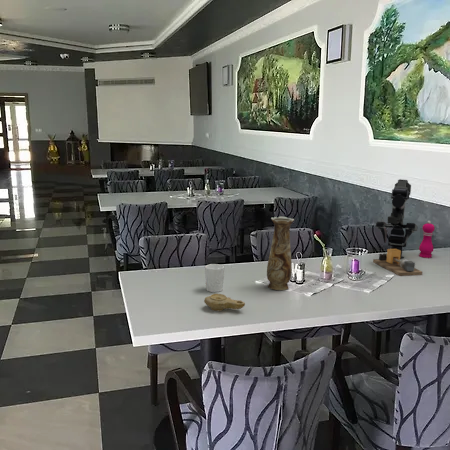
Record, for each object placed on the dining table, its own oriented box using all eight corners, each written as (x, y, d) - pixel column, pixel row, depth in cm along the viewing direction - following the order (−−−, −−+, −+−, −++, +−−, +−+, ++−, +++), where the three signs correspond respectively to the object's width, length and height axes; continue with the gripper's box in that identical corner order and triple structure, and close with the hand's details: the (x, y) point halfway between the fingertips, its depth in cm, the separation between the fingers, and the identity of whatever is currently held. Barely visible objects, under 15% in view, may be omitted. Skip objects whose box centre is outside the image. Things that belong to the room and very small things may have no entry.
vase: (261, 286, 207) (264, 218, 201) (276, 281, 215) (279, 215, 209) (281, 292, 200) (284, 221, 194) (295, 287, 208) (299, 218, 202)
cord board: (373, 262, 250) (374, 250, 249) (393, 261, 253) (394, 249, 251) (399, 276, 227) (400, 263, 226) (422, 274, 230) (423, 262, 228)
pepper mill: (415, 255, 265) (419, 219, 261) (425, 254, 268) (428, 219, 264) (425, 258, 259) (429, 222, 255) (435, 257, 262) (439, 221, 258)
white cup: (214, 285, 207) (215, 262, 205) (227, 290, 202) (228, 267, 200) (201, 289, 202) (201, 266, 200) (213, 294, 196) (214, 270, 194)
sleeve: (386, 261, 244) (387, 249, 243) (395, 261, 245) (396, 248, 244) (390, 263, 240) (391, 251, 239) (399, 263, 241) (400, 250, 240)
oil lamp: (245, 313, 177) (246, 300, 176) (207, 315, 174) (207, 302, 173) (239, 303, 187) (239, 291, 186) (202, 305, 184) (203, 292, 183)
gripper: (374, 207, 237) (370, 239, 234) (413, 209, 226) (410, 241, 223) (380, 213, 245) (377, 243, 243) (419, 214, 235) (415, 246, 232)
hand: (394, 243), depth 235 cm, fingers open, 9 cm apart
